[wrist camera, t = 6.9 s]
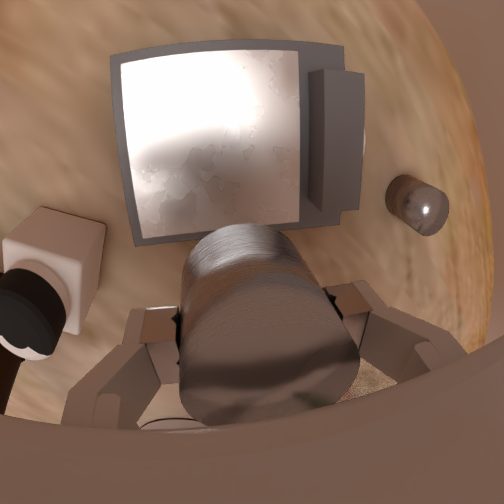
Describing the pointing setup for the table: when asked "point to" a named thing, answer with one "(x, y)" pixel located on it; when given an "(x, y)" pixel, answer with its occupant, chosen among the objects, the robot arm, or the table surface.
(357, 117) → the scale
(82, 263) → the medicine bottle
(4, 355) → the olive oil
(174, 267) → the table surface
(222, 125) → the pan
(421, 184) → the cylinder
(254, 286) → the cylinder
